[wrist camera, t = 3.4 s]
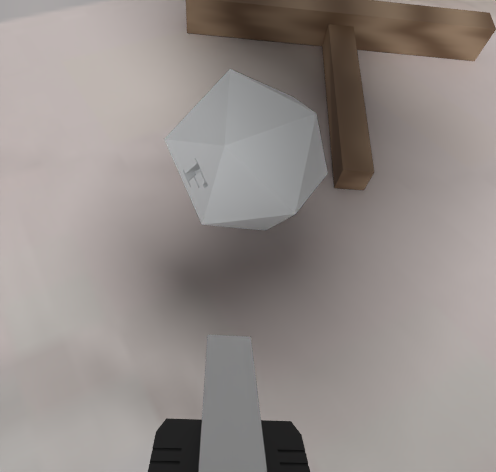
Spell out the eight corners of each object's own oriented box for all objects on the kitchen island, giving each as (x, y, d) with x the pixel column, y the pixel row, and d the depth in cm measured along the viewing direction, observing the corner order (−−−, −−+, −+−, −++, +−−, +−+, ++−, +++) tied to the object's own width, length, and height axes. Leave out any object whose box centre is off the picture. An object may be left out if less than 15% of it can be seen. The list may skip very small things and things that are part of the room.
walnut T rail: (469, 44, 37) (489, 12, 34) (520, 201, 29) (551, 175, 27) (189, 16, 35) (188, -20, 33) (167, 175, 28) (163, 145, 25)
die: (188, 139, 30) (113, 109, 21) (300, 78, 28) (272, 15, 19) (235, 245, 30) (181, 263, 21) (352, 192, 28) (350, 186, 18)
